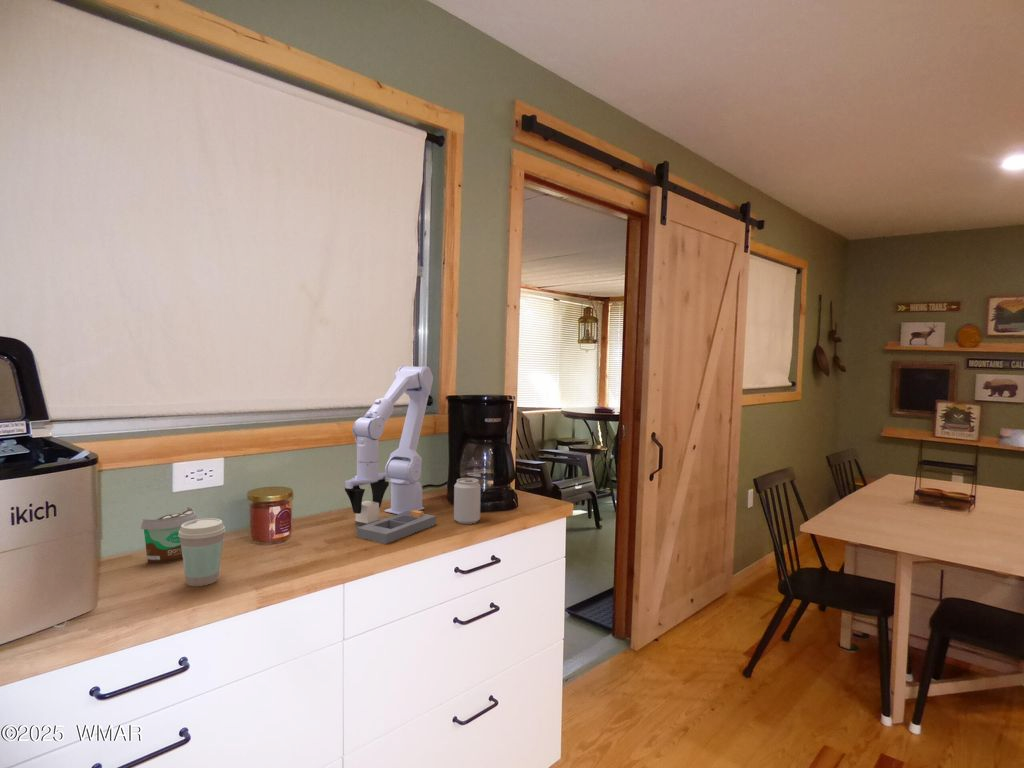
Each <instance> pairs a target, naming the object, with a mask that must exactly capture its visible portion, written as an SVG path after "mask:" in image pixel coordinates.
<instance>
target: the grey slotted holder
mask: <svg viewBox="0 0 1024 768" xmlns="http://www.w3.org/2000/svg"><path fill="white" fill-rule="evenodd" d="M436 517H437V515H431V514H426V513H424V511H423V510H419V511H418V510H413V511H406V512H403V513H400V514H394V515H391V516H387V517H385V518H381V519H379V521H376V522H373V523H369V524H366V525H363V526H357V527H356V538H357V537H358V539H361V538H363V539H362V540H366V539H368V540H367V541H370V540H372V541H371V542H374V541H376V542H375V543H378V542H379V544H384V545H388V544H391V543H393V542H395V540H396V541H398V540H400V538H401V539H403V538H405V537H409V536H410V535H414V534H416V533H418V531H419V532H421V531H425V530H426V528H427V529H429V528H432V527H434V526H436V525H437V523H436V522H437V518H436ZM431 526H432V527H431ZM415 532H416V533H415ZM413 533H414V534H413Z"/></svg>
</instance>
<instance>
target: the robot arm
mask: <svg viewBox="0 0 1024 768" xmlns="http://www.w3.org/2000/svg"><path fill="white" fill-rule="evenodd" d="M433 382H434V375H433V373H432V370H431V368H430V367H429V366H427V365H426V366H425V365H423V366H412V365H411V366H410V365H409V366H407V365H401V366H399V367H398V369H397V371H395V373H394V380H393V382H392V384H391V386H390V387H389V389H388V390H387V392H385V395H384V396H383V397H380V398H377V399H375V400H374V401H373V403H372V405H371V407H370V408H369V409H367V412H365V414H364V416H361V417H359V418H357V420H355V422H354V423H353V426H352V428H351V431H352V435H353V437H354V439H355V440H354V442H355V444H356V474H355V475H354V477H352V478H350V479H348V480H345V481H344V484H345V485H344V491H345V493H346V495H347V497H348V498H349V501H350V504H351V507H352V512H353V514H356V513H357V514H360V513H361V507H362V502H363V497H364V494H365V491H366V490H365V488H361V487H362V486H366V485H370V488H371V495H372V502H378V503H379V509H380V508H381V506H382V502H383V499H384V495H385V493H386V491H387V489H388V487H389V486H390V508H386V509H384V512H385V513H391V514H394V515H397V514H400V513H403V512H406V511H413V510H418V511H423V510H425V507H424V506H423V486H422V484H421V482H420V481H419V480H420V477H421V475H422V463H423V459H422V457H421V455H419V453H418V452H417V448H418V445H419V440H420V435H421V431H422V427H423V422H424V417H425V413H426V409H427V404H428V400H429V396H430V395H431V390H432V386H433ZM404 394H405V395H407V396H408V398H409V403H408V406H407V411H406V415H405V420H404V424H403V427H402V432H401V436H400V439H399V444H398V445H399V446H398V448H396V449H395V450H393V451H392V452H391V453H390V455H389V458H388V461H386V462H387V463H386V464H385V468H384V472H379V438H381V437H382V435H383V433H384V428H385V425H386V422H387V421H388V419H389V418H390V417H391V416H392V414H393V413H394V412H395V411H394V410H395V407H394V405H395V404H396V403H397V402H398V400H400V398H401V397H402V396H403V395H404Z"/></svg>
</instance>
